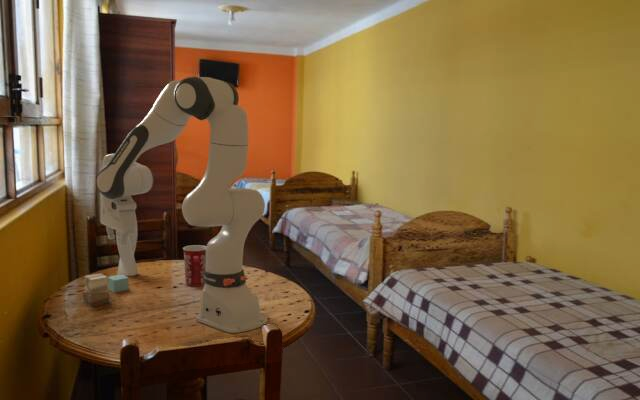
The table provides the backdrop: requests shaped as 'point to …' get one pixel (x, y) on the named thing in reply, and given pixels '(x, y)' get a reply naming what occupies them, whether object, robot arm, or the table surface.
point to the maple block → (96, 284)
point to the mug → (195, 264)
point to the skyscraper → (127, 253)
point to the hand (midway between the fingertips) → (117, 241)
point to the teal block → (118, 283)
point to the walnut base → (95, 298)
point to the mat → (95, 304)
